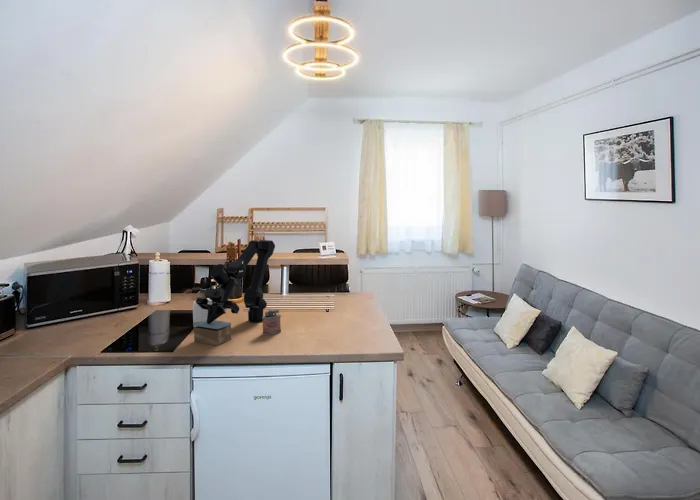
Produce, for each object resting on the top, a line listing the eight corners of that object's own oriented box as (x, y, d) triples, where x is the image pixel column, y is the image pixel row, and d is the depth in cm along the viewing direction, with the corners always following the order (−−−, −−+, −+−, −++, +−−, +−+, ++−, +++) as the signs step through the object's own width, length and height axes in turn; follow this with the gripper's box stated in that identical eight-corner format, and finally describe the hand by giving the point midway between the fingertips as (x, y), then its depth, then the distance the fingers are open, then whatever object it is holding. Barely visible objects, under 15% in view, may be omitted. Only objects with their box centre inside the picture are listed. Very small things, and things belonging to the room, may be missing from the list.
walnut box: (208, 335, 179) (207, 322, 178) (231, 339, 174) (230, 325, 174) (194, 341, 172) (193, 327, 171) (217, 345, 167) (217, 331, 166)
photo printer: (215, 321, 198) (214, 296, 197) (217, 324, 195) (216, 298, 193) (192, 325, 193) (191, 299, 191) (194, 328, 189) (193, 301, 188)
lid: (207, 321, 178) (207, 319, 178) (231, 324, 174) (231, 322, 173) (192, 325, 171) (193, 323, 171) (217, 329, 166) (217, 326, 166)
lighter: (263, 335, 179) (263, 312, 178) (261, 333, 182) (261, 310, 181) (282, 332, 183) (281, 309, 182) (279, 330, 186) (279, 308, 185)
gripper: (197, 278, 176) (178, 310, 167) (233, 281, 169) (216, 315, 160) (211, 292, 184) (194, 324, 176) (246, 296, 177) (230, 329, 168)
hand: (207, 323), depth 170 cm, fingers closed, pressing on lid
